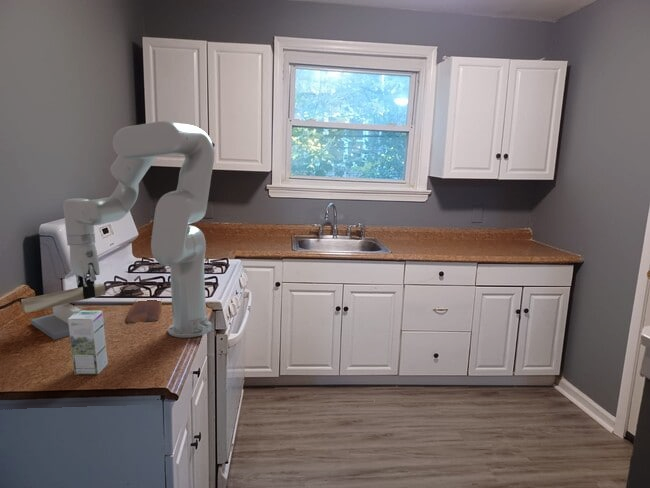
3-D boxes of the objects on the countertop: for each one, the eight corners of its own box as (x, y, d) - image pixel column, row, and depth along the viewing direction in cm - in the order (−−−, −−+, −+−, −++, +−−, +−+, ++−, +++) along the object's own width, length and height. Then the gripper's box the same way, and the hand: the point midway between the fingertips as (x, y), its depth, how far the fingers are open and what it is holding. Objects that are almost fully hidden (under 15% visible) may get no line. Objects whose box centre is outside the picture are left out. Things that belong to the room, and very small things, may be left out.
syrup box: (108, 363, 111) (103, 309, 108) (97, 375, 105) (91, 317, 102) (85, 364, 111) (79, 309, 108) (73, 375, 105) (66, 318, 102)
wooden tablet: (159, 323, 140) (159, 318, 139) (124, 326, 137) (124, 321, 136) (164, 297, 165) (164, 292, 164) (135, 299, 162) (135, 294, 161)
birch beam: (105, 294, 141) (104, 284, 140) (26, 312, 124) (25, 302, 124) (100, 292, 143) (100, 283, 142) (22, 310, 126) (21, 299, 126)
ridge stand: (104, 325, 135) (102, 305, 134) (54, 339, 125) (51, 318, 123) (79, 312, 147) (77, 293, 145) (31, 324, 136) (28, 304, 135)
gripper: (106, 241, 132) (111, 299, 136) (82, 234, 142) (87, 288, 146) (79, 244, 126) (85, 305, 130) (56, 237, 137) (63, 294, 140)
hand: (86, 296), depth 138 cm, fingers closed on birch beam, 3 cm apart
